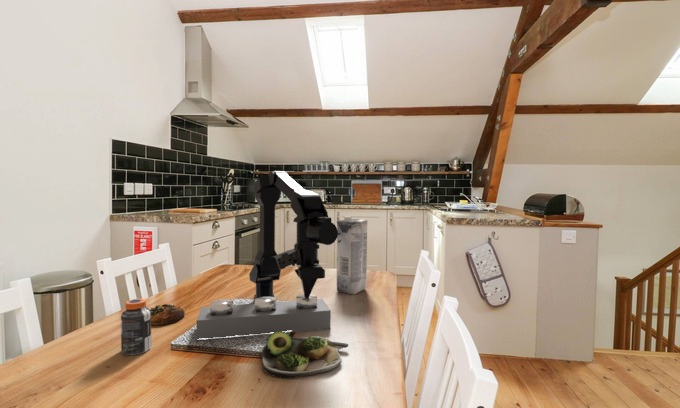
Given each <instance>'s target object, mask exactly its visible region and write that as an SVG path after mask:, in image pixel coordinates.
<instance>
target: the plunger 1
mask: <svg viewBox="0 0 680 408" xmlns="http://www.w3.org/2000/svg"><path fill="white" fill-rule="evenodd" d="M209 305H210V306H209V307H210V313H211V314H212V315H213V316H222V315H231V313H232V312H233V305H234V300H232V299H226V298H222V299H221V298H220V299H215V300H213V301H211V302H210V303H209Z"/></svg>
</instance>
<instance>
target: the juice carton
mask: <svg viewBox="0 0 680 408" xmlns="http://www.w3.org/2000/svg"><path fill="white" fill-rule="evenodd" d="M336 228H337V230H338V236H337V239H336V291H337V292H339V293H343V294H344V293H345V294H349V295H356V294H358V293H359V292H362V291H364V290H366V288H367V287H366V286H367V273H368V272H367V269H368V268H367V263H368V262H367V261H368V259H367V257H368V256H367V255H368V219H360V218H352V215H346V216H343V220H342V219H341V220H337V221H336Z"/></svg>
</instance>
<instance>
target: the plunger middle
mask: <svg viewBox="0 0 680 408" xmlns="http://www.w3.org/2000/svg"><path fill="white" fill-rule="evenodd" d="M274 297H275V296H274ZM274 297H259V298H257V299H254V304H255V311H257V313H258V312H271V311H274V310H276V302H277V298H276V297H275V298H274Z"/></svg>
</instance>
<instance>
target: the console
mask: <svg viewBox="0 0 680 408" xmlns="http://www.w3.org/2000/svg"><path fill="white" fill-rule="evenodd" d="M331 312H332V311H331V309H330V307H329V306H328V304H327V303H326V302H325V300H324V299H323V298H319V299H318V298H317V307H316V308H313V309H299V308H298V307H297V306H296V300H288V301H287V300H286V301H276V310H274V311H271V312H258V313H257V311H255V303H242V304H240V303H239V304H233V312H232V313H231V315H222V316H213V315H212V314H211V313H210V306H201V307H200V310H199V313H198V316H197V319H196V340H197V339H199V338H213V337H226V336H235V335H249V334H261V333H270V332H278V331H287V330H293V332H292V333H301V332H303V333H304V332H313V331H324V330H331V319H332V317H331V315H332V314H331Z"/></svg>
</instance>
